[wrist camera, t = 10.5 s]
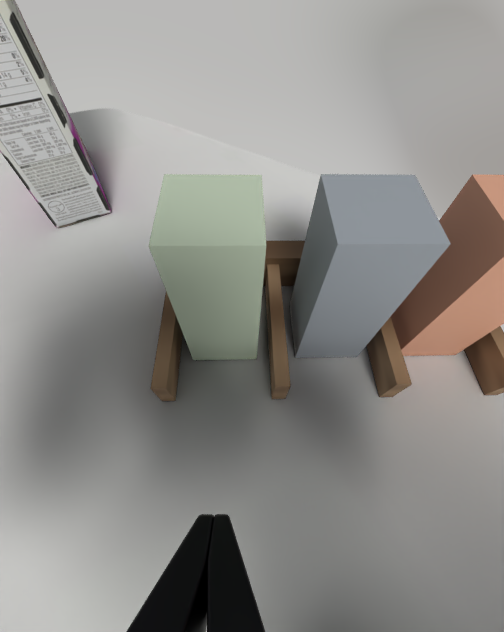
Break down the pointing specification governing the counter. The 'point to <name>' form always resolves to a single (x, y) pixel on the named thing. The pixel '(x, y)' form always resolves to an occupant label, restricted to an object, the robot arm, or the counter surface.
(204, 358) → the sage key
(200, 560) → the robot arm
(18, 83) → the candy bar box
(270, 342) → the wooden slotted rack
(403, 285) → the grey tall block
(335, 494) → the counter surface
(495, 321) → the pink rectangular block
